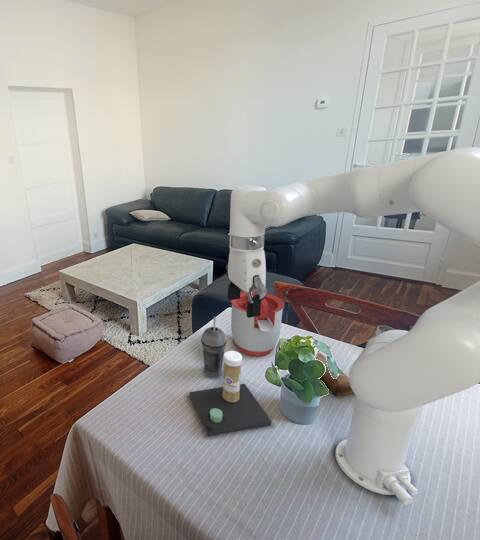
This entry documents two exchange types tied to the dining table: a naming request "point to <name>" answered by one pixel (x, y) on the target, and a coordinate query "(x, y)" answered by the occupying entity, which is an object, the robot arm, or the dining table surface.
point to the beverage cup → (213, 350)
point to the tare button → (216, 415)
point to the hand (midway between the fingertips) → (243, 307)
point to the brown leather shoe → (335, 381)
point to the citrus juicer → (256, 325)
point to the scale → (229, 411)
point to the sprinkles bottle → (231, 376)
